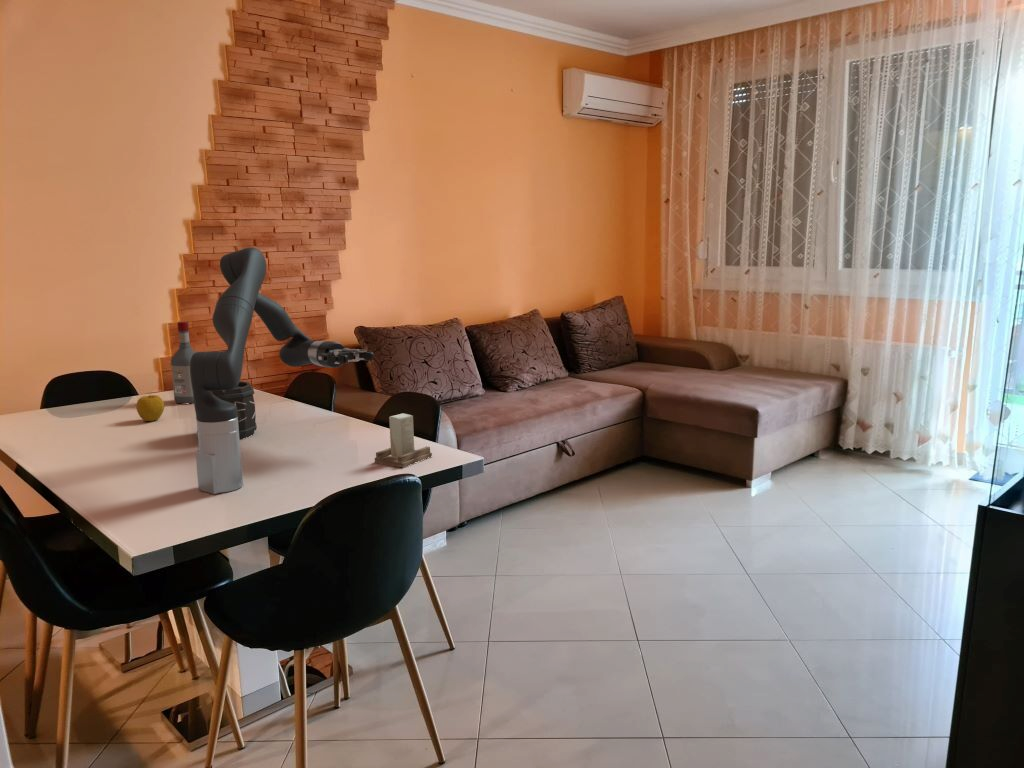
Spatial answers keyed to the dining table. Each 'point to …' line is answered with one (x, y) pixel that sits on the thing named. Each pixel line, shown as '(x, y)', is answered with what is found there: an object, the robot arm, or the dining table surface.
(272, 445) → the dining table surface
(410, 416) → the box
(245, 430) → the dark ribbed cylinder
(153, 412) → the apple
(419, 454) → the shallow brown tray
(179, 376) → the liquor
